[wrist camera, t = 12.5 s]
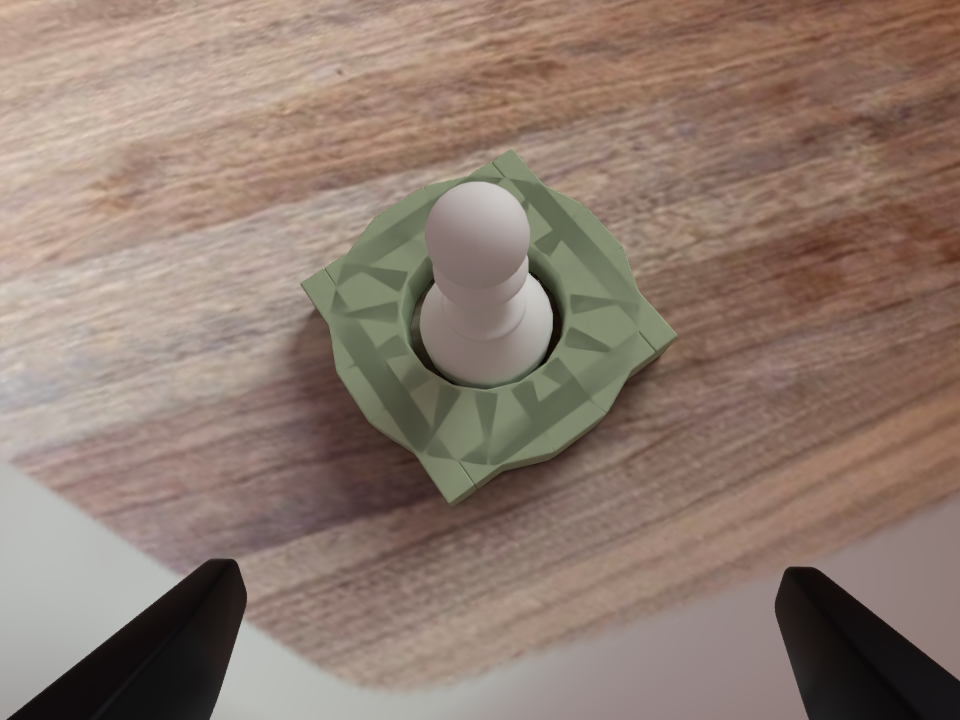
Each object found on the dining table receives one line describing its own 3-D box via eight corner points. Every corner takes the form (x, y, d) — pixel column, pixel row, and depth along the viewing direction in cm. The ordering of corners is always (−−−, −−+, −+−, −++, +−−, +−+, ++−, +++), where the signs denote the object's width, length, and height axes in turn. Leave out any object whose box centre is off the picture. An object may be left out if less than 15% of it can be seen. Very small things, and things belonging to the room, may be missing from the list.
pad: (449, 535, 20) (442, 535, 18) (293, 300, 23) (274, 279, 21) (690, 356, 22) (707, 339, 20) (515, 158, 25) (515, 127, 23)
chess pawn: (421, 282, 23) (370, 134, 14) (542, 270, 23) (563, 114, 14) (428, 400, 22) (376, 313, 13) (558, 387, 21) (591, 291, 13)
